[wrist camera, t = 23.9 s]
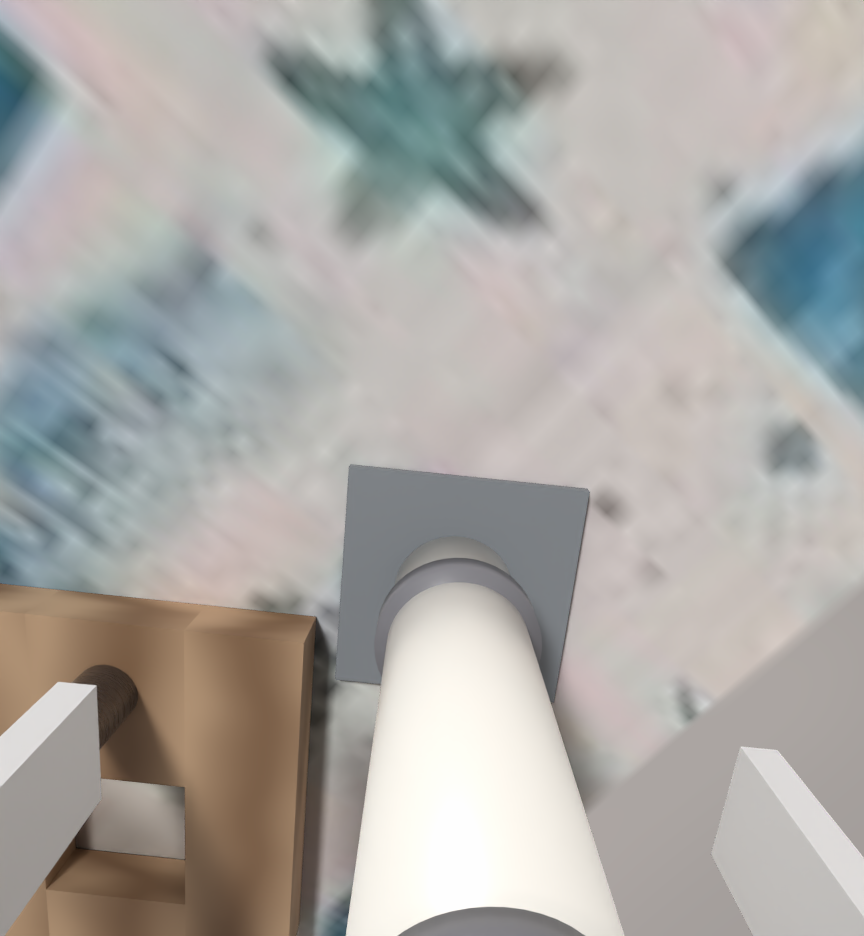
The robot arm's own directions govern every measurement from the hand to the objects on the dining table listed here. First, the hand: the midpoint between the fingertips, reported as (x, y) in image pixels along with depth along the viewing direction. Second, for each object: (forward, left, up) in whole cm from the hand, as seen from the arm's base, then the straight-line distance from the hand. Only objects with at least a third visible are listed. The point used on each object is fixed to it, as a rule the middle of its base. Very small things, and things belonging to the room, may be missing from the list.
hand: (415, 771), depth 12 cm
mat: (+1, -1, -11) cm, 11 cm away
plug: (+1, -1, -11) cm, 11 cm away
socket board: (-14, -11, -11) cm, 21 cm away
